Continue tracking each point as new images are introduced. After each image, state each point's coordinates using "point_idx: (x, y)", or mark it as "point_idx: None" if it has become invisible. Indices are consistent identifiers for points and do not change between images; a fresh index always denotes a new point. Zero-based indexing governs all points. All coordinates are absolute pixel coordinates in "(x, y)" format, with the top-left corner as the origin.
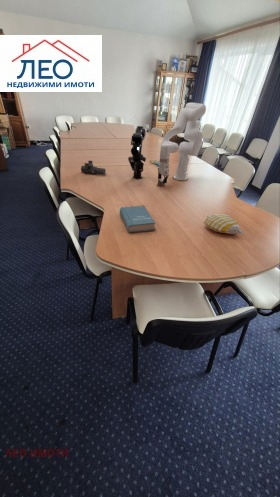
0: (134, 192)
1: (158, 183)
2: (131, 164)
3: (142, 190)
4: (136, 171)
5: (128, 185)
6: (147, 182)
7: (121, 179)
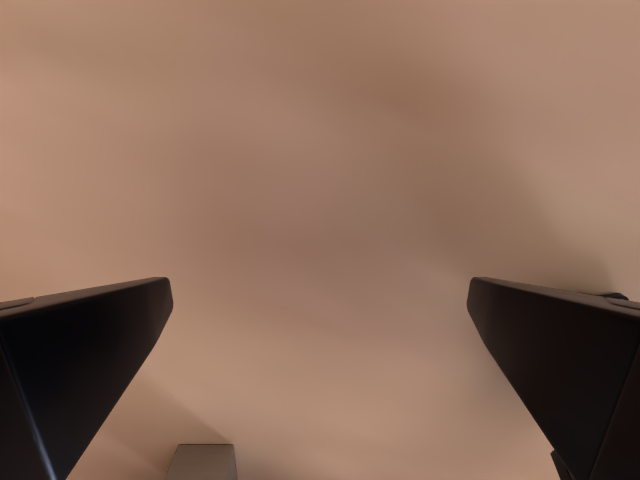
0: (5, 68)
1: (207, 470)
2: (625, 356)
3: (84, 220)
4: (75, 290)
5: (312, 87)
6: (350, 384)
7: (616, 71)
